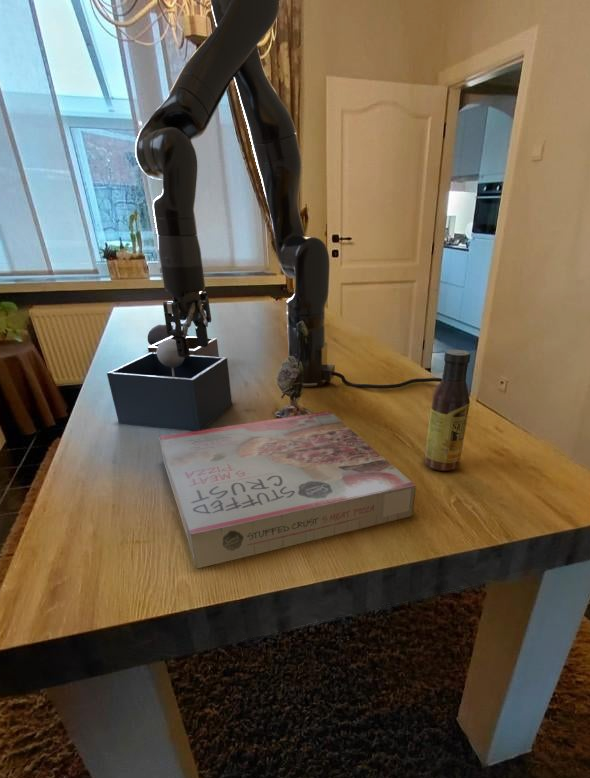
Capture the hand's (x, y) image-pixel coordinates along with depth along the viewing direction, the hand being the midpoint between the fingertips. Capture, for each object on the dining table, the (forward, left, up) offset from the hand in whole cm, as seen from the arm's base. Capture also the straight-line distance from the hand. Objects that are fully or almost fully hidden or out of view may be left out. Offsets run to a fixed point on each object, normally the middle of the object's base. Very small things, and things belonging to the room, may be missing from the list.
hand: (194, 351), depth 100 cm
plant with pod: (-19, -5, -14) cm, 24 cm away
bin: (+6, 0, -14) cm, 15 cm away
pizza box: (-26, +27, -14) cm, 40 cm away
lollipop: (+6, 0, -13) cm, 15 cm away
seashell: (+36, -54, -14) cm, 66 cm away
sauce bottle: (-52, +12, -14) cm, 55 cm away
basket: (+20, -32, -14) cm, 40 cm away
